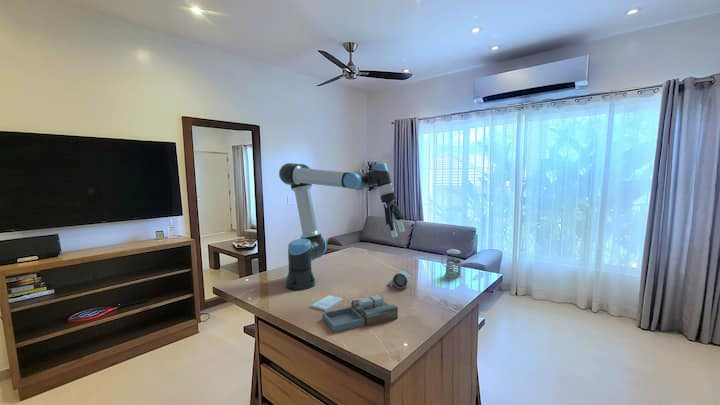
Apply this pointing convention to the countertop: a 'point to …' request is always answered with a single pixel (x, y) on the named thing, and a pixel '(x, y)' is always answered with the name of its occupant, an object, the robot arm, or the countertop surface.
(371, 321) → the slot board
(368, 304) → the aluminium chip
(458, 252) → the french press
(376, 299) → the aluminium chip
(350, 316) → the chip tray
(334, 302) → the external hard drive
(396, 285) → the ceramic mug
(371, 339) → the countertop surface
